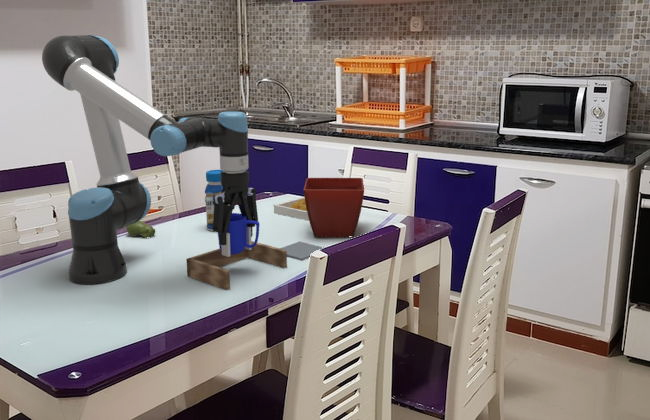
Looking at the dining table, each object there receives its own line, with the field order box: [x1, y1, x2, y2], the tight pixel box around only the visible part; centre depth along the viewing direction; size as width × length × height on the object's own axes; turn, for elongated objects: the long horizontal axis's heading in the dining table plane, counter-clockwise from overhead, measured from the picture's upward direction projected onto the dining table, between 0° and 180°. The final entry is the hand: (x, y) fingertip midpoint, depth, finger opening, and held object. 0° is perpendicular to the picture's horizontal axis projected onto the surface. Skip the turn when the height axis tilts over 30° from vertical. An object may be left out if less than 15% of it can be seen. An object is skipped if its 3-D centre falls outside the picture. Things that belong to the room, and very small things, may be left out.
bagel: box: [290, 199, 307, 211], centre depth 244 cm, size 10×11×5 cm
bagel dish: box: [273, 196, 309, 222], centre depth 244 cm, size 18×17×3 cm
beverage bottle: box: [204, 169, 230, 232], centre depth 222 cm, size 8×8×20 cm
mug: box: [217, 212, 260, 254], centre depth 181 cm, size 8×12×10 cm
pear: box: [125, 220, 156, 239], centre depth 218 cm, size 6×5×10 cm
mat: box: [279, 241, 325, 261], centre depth 199 cm, size 12×12×1 cm
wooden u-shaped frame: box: [186, 240, 288, 290], centre depth 182 cm, size 16×22×5 cm
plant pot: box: [303, 177, 365, 238], centre depth 217 cm, size 19×19×17 cm
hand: (236, 252), depth 181 cm, fingers closed on mug, 7 cm apart
